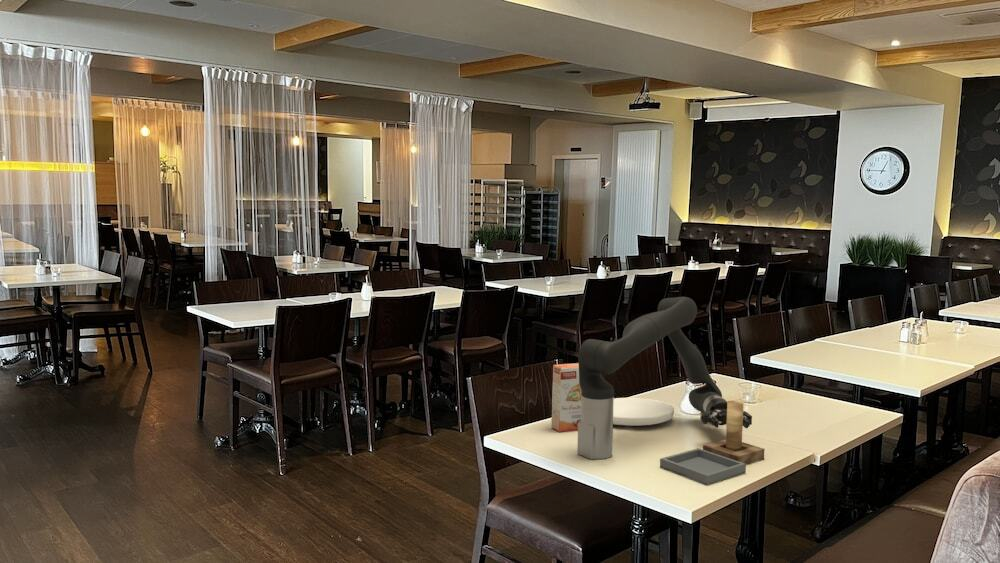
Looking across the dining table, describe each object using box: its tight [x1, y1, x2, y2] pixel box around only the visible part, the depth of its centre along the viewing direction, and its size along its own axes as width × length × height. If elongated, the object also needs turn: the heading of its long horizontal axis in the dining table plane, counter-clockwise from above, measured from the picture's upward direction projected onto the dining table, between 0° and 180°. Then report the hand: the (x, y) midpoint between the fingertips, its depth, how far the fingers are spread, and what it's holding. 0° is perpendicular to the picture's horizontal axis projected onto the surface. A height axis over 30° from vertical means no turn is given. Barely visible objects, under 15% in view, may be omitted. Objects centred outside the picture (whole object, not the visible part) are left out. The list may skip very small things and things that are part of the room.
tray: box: [659, 447, 747, 486], centre depth 202 cm, size 16×16×2 cm
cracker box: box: [551, 362, 581, 433], centre depth 239 cm, size 14×6×21 cm, turn 113°
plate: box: [613, 397, 675, 427], centre depth 251 cm, size 28×6×27 cm
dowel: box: [725, 400, 745, 452], centre depth 212 cm, size 4×4×16 cm
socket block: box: [702, 438, 765, 466], centre depth 213 cm, size 12×12×3 cm
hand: (732, 424), depth 214 cm, fingers open, 8 cm apart
